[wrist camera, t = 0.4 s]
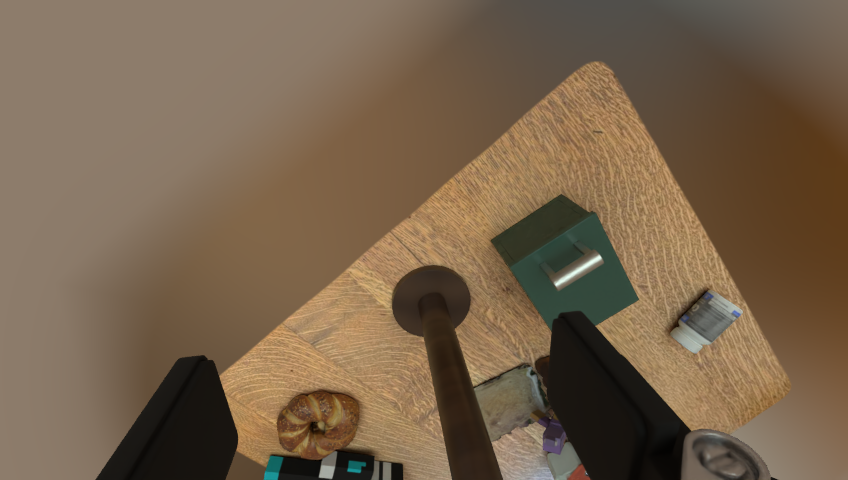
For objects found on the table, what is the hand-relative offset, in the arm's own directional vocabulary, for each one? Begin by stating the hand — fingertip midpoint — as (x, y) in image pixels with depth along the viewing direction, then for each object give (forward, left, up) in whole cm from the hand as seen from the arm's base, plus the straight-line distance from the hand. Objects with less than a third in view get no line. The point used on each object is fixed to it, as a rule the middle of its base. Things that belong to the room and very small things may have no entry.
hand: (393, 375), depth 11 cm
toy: (+45, -22, -33) cm, 60 cm away
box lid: (+15, +20, -27) cm, 37 cm away
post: (+20, +5, -35) cm, 40 cm away
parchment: (+40, +15, -33) cm, 54 cm away
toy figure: (+39, +22, -31) cm, 54 cm away
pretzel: (+37, -12, -35) cm, 53 cm away
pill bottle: (+24, +45, -32) cm, 61 cm away
